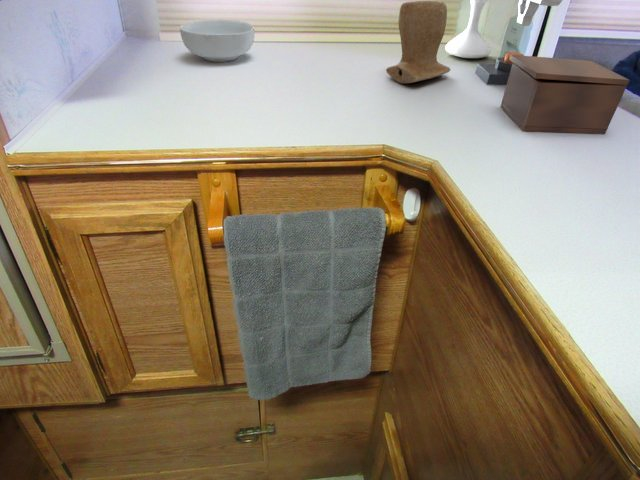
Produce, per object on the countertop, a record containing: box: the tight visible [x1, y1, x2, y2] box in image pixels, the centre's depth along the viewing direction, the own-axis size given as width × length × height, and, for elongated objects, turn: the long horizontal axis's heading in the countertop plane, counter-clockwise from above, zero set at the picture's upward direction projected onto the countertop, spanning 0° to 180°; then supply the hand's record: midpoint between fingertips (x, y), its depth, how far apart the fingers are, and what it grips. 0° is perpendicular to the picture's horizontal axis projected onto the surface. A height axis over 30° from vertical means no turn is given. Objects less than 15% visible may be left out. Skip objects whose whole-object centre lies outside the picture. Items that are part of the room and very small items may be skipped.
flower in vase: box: [444, 0, 492, 59], centre depth 104 cm, size 13×11×25 cm
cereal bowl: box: [179, 19, 255, 63], centre depth 100 cm, size 17×17×7 cm
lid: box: [509, 55, 630, 86], centre depth 69 cm, size 14×12×1 cm
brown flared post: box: [385, 0, 451, 84], centre depth 89 cm, size 15×12×15 cm
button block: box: [474, 56, 513, 86], centre depth 93 cm, size 12×9×4 cm
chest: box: [499, 63, 628, 135], centre depth 72 cm, size 14×12×8 cm
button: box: [504, 51, 525, 63], centre depth 91 cm, size 4×4×2 cm
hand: (522, 24), depth 87 cm, fingers closed
